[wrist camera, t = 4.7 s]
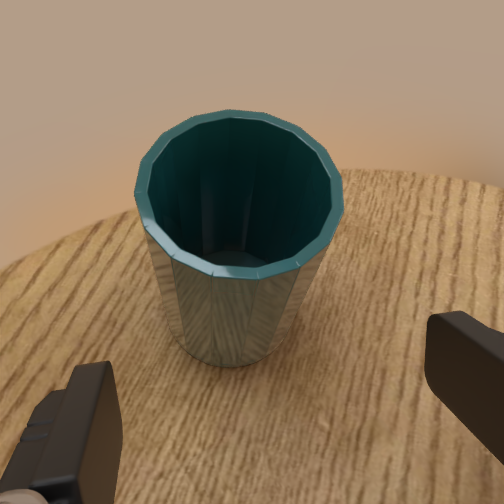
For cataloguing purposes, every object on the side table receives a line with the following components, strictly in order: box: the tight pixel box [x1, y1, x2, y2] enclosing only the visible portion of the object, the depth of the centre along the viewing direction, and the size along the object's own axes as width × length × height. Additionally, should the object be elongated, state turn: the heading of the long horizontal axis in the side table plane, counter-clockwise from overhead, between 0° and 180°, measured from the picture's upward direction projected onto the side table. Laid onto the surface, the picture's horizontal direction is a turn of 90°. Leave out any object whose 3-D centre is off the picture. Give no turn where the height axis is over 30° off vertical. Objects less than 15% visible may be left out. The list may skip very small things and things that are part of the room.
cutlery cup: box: [134, 109, 344, 367], centre depth 18 cm, size 6×6×10 cm
